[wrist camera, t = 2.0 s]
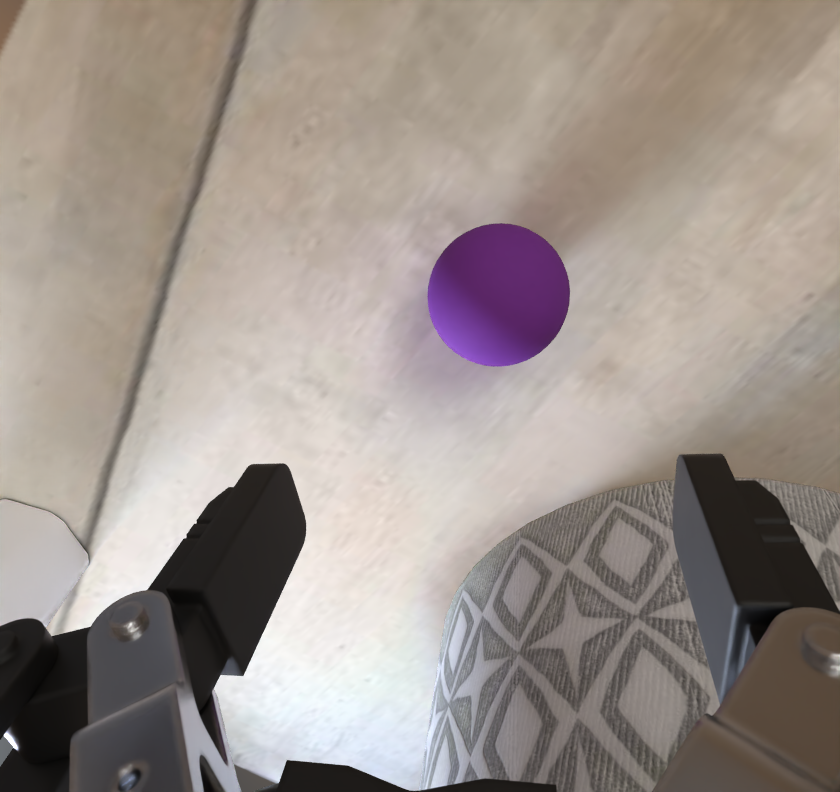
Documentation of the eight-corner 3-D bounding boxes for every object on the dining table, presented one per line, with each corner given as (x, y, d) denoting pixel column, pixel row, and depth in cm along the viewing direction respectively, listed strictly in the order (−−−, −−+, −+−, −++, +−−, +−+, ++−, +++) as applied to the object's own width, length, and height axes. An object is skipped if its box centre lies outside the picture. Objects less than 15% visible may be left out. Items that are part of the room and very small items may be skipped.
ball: (446, 335, 26) (428, 395, 22) (429, 216, 23) (406, 255, 19) (567, 327, 25) (575, 388, 20) (564, 200, 22) (572, 239, 18)
